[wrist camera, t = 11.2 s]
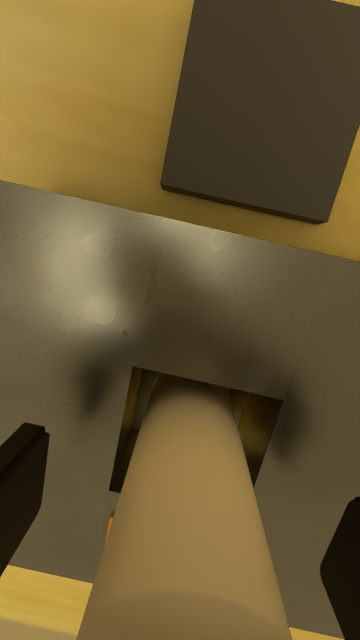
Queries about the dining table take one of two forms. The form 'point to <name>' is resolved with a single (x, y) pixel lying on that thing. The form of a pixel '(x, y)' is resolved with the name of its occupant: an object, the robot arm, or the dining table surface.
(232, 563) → the peg
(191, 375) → the block
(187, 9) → the dining table surface
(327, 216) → the pad
